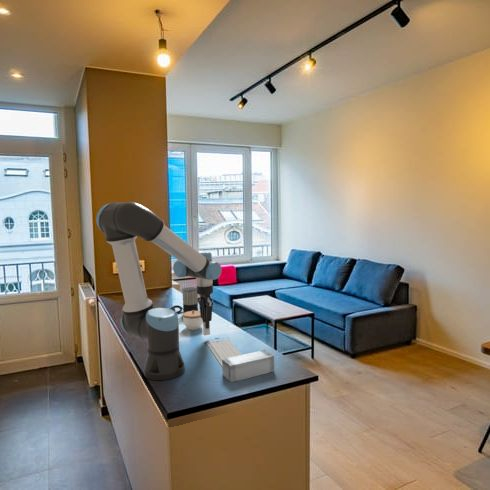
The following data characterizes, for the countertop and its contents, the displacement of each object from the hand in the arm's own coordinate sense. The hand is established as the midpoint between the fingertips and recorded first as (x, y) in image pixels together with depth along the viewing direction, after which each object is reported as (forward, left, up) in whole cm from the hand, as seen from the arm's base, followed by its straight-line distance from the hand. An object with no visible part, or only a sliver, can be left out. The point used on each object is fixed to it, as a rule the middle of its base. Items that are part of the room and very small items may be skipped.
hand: (206, 334), depth 180 cm
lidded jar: (+1, +20, -3) cm, 20 cm away
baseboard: (0, -21, -3) cm, 22 cm away
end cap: (0, -42, -3) cm, 42 cm away
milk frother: (+6, +50, -3) cm, 50 cm away
